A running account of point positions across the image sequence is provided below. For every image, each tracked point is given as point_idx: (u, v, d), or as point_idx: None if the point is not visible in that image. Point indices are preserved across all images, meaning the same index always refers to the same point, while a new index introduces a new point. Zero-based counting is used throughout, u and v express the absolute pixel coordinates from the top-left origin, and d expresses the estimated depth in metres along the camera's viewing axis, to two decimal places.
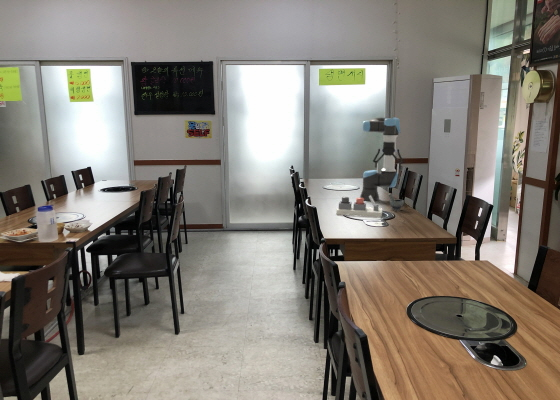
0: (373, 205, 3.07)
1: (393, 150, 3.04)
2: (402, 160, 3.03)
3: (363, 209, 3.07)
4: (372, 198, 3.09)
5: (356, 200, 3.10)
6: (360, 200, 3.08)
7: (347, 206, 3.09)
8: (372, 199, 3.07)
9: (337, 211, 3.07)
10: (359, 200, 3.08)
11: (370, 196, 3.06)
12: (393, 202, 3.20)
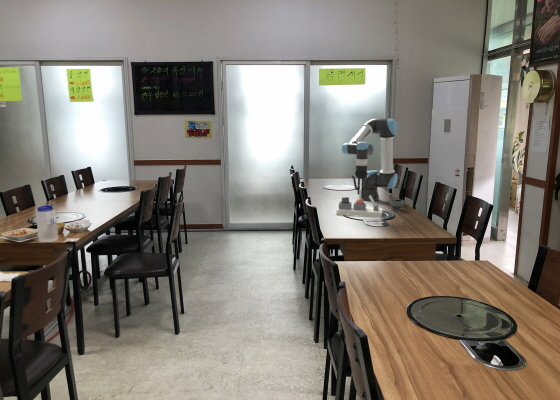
0: (373, 205, 3.07)
1: (365, 174, 3.05)
2: (366, 187, 3.07)
3: (363, 209, 3.07)
4: (372, 198, 3.09)
5: (356, 201, 3.10)
6: (360, 201, 3.08)
7: (347, 206, 3.09)
8: (372, 199, 3.07)
9: (337, 211, 3.07)
10: (359, 201, 3.08)
11: (370, 196, 3.06)
12: (393, 202, 3.20)
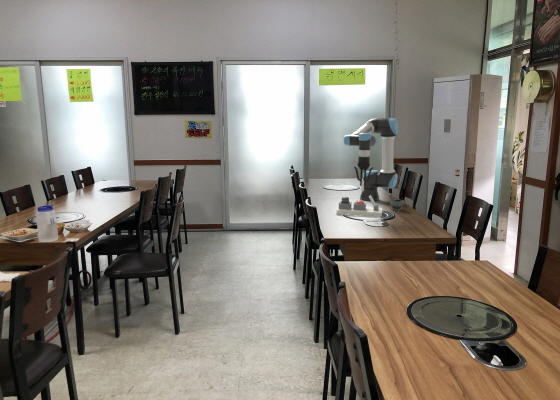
0: (373, 205, 3.07)
1: (368, 165, 3.04)
2: (368, 178, 3.05)
3: (363, 209, 3.07)
4: (372, 198, 3.09)
5: (356, 203, 3.11)
6: (360, 203, 3.08)
7: (347, 206, 3.09)
8: (372, 199, 3.07)
9: (337, 211, 3.07)
10: (359, 202, 3.08)
11: (370, 196, 3.06)
12: (393, 202, 3.20)
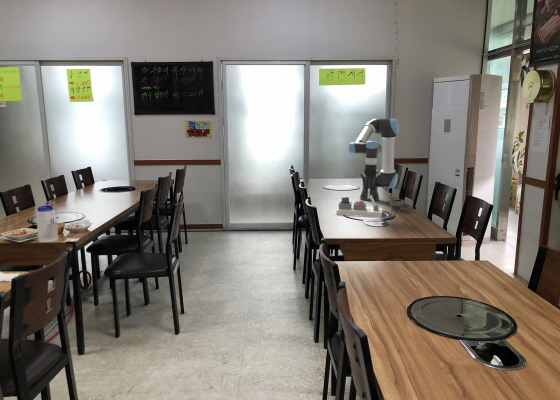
0: (373, 205, 3.07)
1: (375, 173, 3.04)
2: (374, 186, 3.05)
3: (363, 209, 3.07)
4: (372, 198, 3.09)
5: (356, 203, 3.11)
6: (360, 203, 3.08)
7: (347, 206, 3.09)
8: (372, 199, 3.07)
9: (337, 211, 3.07)
10: (359, 202, 3.08)
11: (371, 196, 3.06)
12: (393, 202, 3.20)
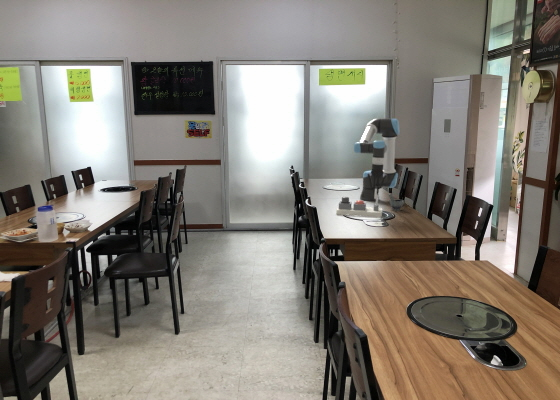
0: (375, 204, 3.07)
1: (382, 172, 3.02)
2: (381, 186, 3.04)
3: (363, 209, 3.07)
4: None
5: (356, 203, 3.11)
6: (360, 203, 3.08)
7: (347, 206, 3.09)
8: None
9: (337, 211, 3.07)
10: (359, 202, 3.08)
11: (378, 195, 3.05)
12: (393, 202, 3.20)
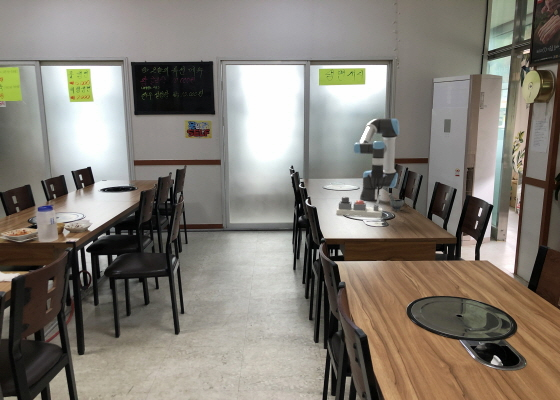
0: (376, 204, 3.06)
1: (382, 173, 3.02)
2: (382, 186, 3.04)
3: (363, 209, 3.07)
4: None
5: (356, 203, 3.11)
6: (360, 203, 3.08)
7: (347, 206, 3.09)
8: (379, 199, 3.06)
9: (337, 211, 3.07)
10: (359, 202, 3.08)
11: None
12: (393, 202, 3.20)
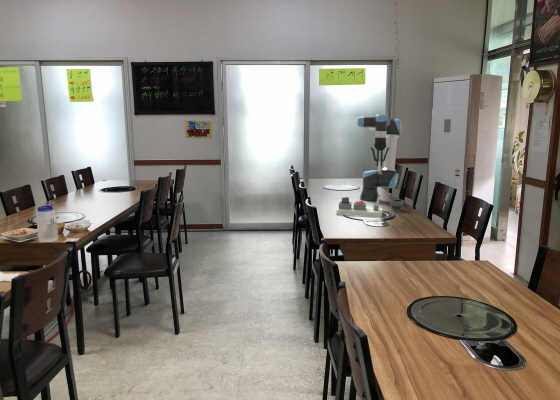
0: (376, 204, 3.06)
1: (384, 145, 3.12)
2: (385, 158, 3.13)
3: (363, 209, 3.07)
4: None
5: (356, 203, 3.11)
6: (360, 203, 3.08)
7: (347, 206, 3.09)
8: (379, 199, 3.06)
9: (337, 211, 3.07)
10: (359, 202, 3.08)
11: None
12: (393, 202, 3.20)
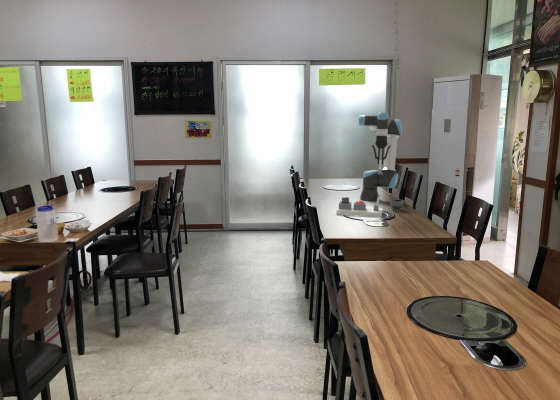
0: (376, 204, 3.06)
1: (386, 143, 3.13)
2: (386, 156, 3.14)
3: (363, 209, 3.07)
4: None
5: (356, 203, 3.11)
6: (360, 203, 3.08)
7: (347, 206, 3.09)
8: (379, 199, 3.06)
9: (337, 211, 3.07)
10: (359, 202, 3.08)
11: None
12: (393, 202, 3.20)
